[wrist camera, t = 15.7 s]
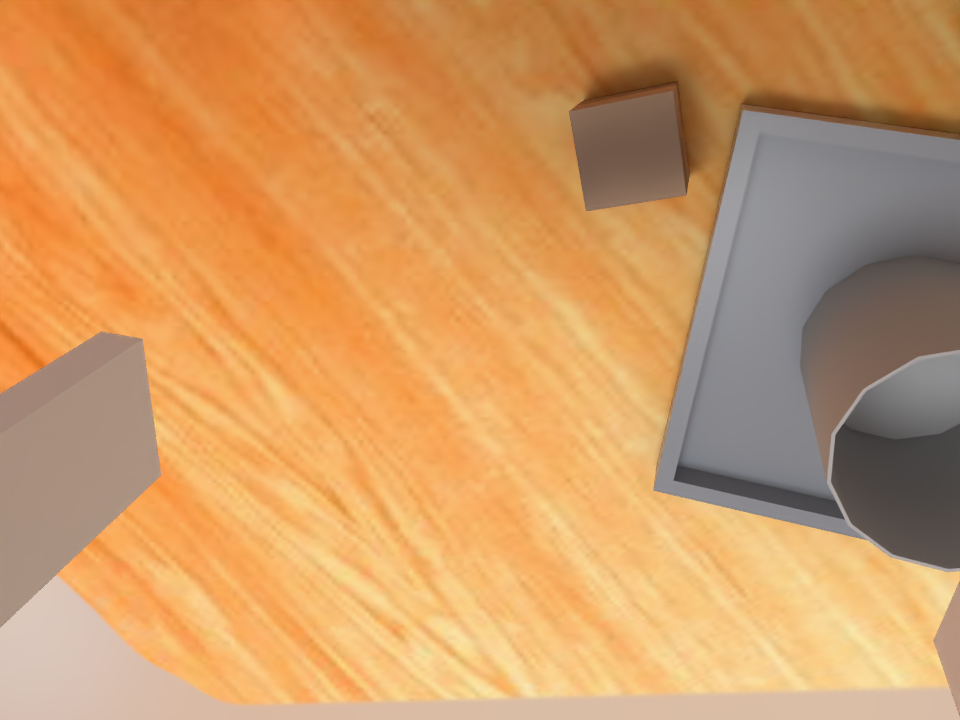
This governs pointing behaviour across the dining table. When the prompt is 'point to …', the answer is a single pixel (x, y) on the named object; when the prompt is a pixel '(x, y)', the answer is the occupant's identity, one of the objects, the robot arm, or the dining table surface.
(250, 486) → the dining table surface
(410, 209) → the dining table surface
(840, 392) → the cup
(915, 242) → the tray
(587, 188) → the walnut block
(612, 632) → the dining table surface
